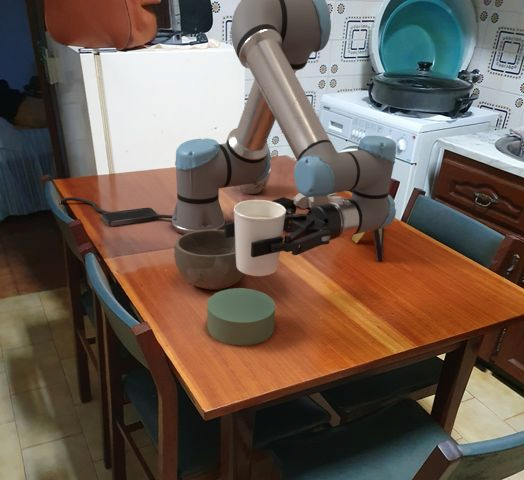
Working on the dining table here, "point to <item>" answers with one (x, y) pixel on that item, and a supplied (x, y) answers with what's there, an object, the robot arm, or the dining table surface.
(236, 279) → the bowl
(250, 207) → the candle holder
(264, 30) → the robot arm
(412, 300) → the dining table surface
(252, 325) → the stand
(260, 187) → the teacup
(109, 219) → the phone
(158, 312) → the dining table surface
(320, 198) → the bunny figurine
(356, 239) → the picture frame
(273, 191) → the dining table surface
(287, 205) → the digital camera
